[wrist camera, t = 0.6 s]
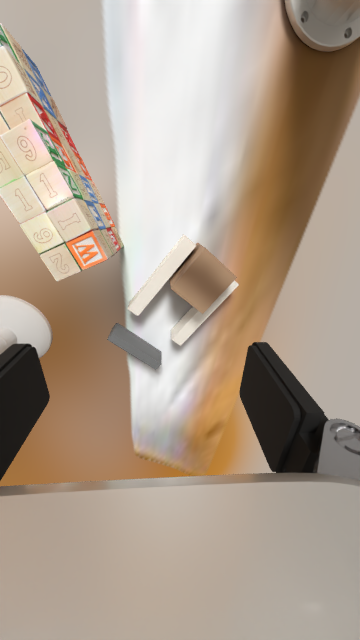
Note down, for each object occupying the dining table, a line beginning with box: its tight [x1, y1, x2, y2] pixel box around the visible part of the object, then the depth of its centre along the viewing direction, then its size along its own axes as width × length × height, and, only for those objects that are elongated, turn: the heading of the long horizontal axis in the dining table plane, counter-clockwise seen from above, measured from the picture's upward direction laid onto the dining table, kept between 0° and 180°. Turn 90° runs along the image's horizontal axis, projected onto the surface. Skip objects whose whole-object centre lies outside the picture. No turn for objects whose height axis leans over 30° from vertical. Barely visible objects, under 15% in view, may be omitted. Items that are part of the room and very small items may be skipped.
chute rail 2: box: [171, 281, 239, 346], centre depth 37 cm, size 14×2×4 cm, turn 140°
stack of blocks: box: [0, 23, 124, 281], centre depth 24 cm, size 21×6×12 cm, turn 22°
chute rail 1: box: [128, 234, 196, 316], centre depth 34 cm, size 14×2×4 cm, turn 140°
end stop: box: [107, 323, 161, 369], centre depth 39 cm, size 2×10×4 cm, turn 50°
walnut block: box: [170, 243, 237, 314], centre depth 33 cm, size 7×6×7 cm
